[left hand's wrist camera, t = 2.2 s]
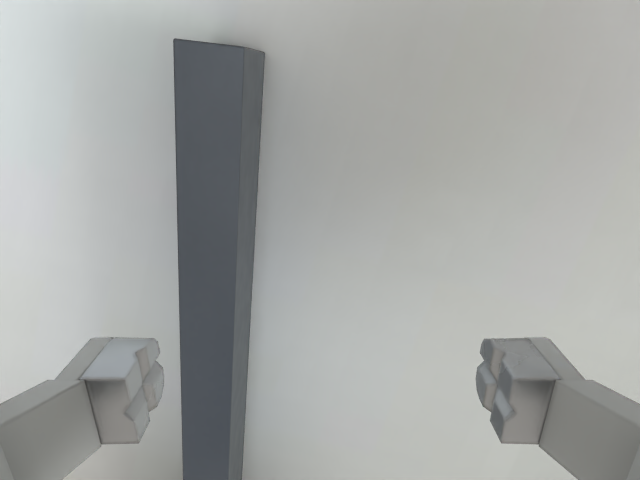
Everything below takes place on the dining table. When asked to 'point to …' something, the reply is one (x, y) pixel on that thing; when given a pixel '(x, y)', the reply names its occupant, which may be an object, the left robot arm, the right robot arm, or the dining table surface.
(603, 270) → the dining table surface
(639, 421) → the left robot arm
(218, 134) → the post
